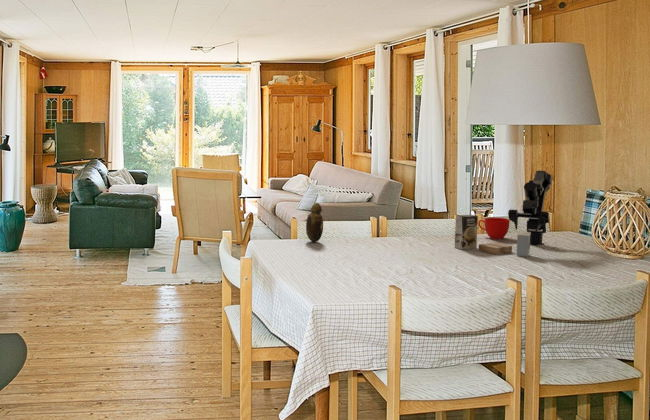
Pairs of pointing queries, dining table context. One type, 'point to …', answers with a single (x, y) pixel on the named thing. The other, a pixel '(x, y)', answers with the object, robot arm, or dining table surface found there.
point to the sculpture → (315, 223)
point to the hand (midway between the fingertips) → (525, 230)
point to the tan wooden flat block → (495, 248)
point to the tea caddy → (523, 244)
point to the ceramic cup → (495, 227)
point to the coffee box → (466, 231)
